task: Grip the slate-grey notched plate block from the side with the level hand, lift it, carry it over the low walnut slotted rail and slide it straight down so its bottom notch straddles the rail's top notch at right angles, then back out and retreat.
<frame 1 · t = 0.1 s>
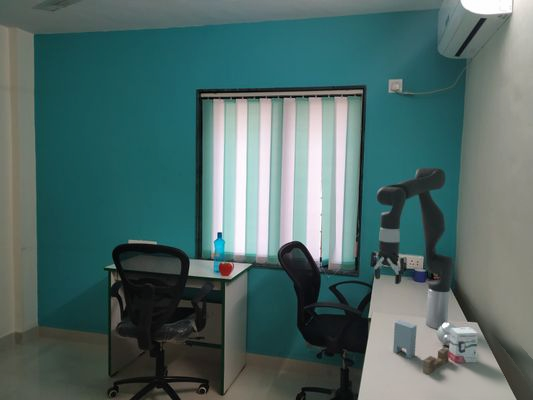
hand: (387, 281, 158), 29 cm above the table, tool pointing down, fingers open, 8 cm apart
notched rail: (436, 366, 152), on the table
ink box: (461, 360, 158), on the table
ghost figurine: (447, 346, 170), on the table
notched block: (403, 353, 162), on the table
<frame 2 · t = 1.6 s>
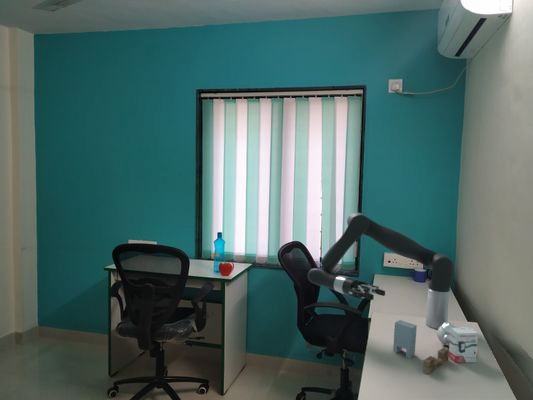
hand: (379, 295, 169), 20 cm above the table, tool horizontal, fingers open, 8 cm apart
nothing on the table moved.
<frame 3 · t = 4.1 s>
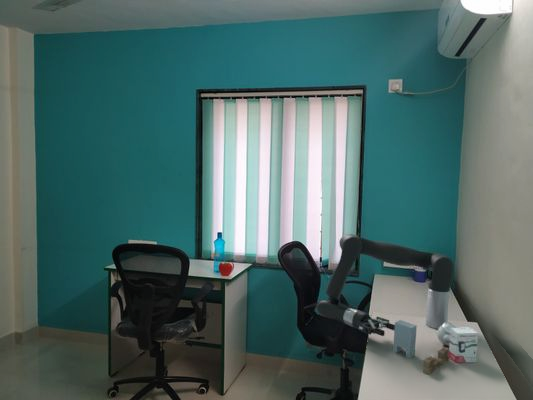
hand: (389, 330, 166), 7 cm above the table, tool horizontal, fingers open, 8 cm apart
nothing on the table moved.
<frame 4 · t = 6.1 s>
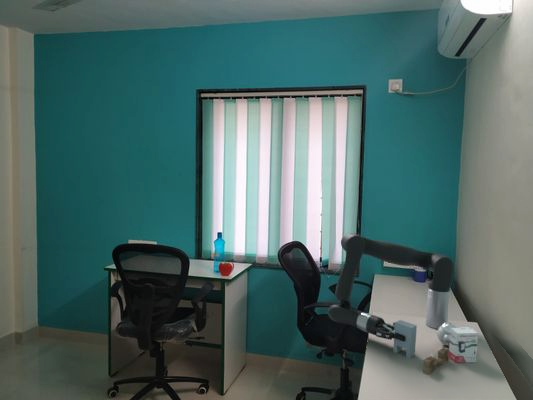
hand: (407, 337, 160), 7 cm above the table, tool horizontal, fingers closed on notched block, 4 cm apart
notched block: (404, 353, 162), on the table, touching gripper
everything else where it was.
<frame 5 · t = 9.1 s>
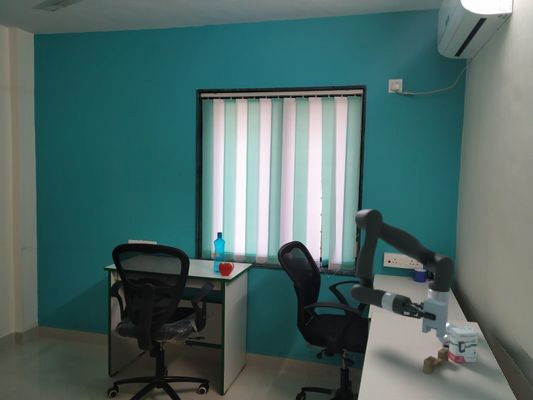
hand: (438, 316, 150), 19 cm above the table, tool horizontal, fingers closed on notched block, 4 cm apart
notched block: (433, 333, 152), point 12 cm above the table, touching gripper
everything else where it was.
when the fingers open (8 cm above the table, at t = 12.2 s): notched block drops 1 cm, resting in notched rail.
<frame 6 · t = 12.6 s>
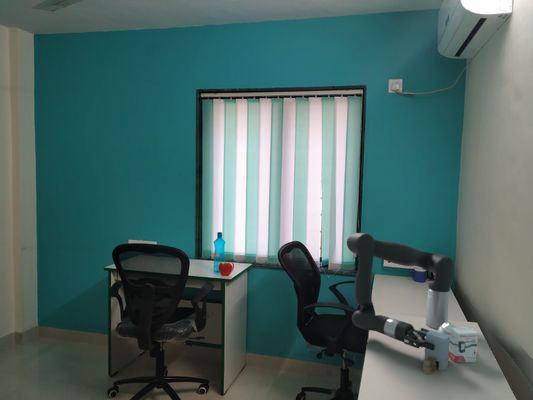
hand: (439, 344, 151), 9 cm above the table, tool horizontal, fingers open, 7 cm apart
notched block: (435, 366, 152), resting in notched rail
everything else where it was.
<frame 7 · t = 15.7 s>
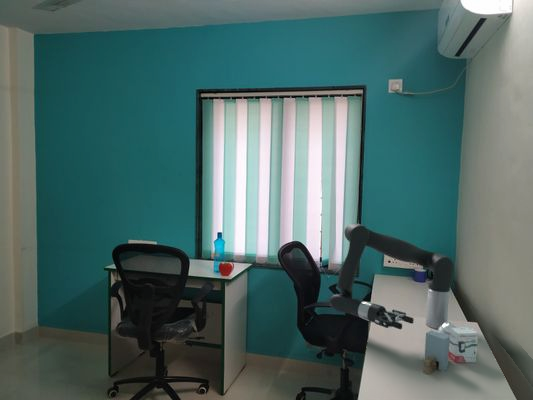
hand: (407, 323, 160), 12 cm above the table, tool horizontal, fingers open, 8 cm apart
nothing on the table moved.
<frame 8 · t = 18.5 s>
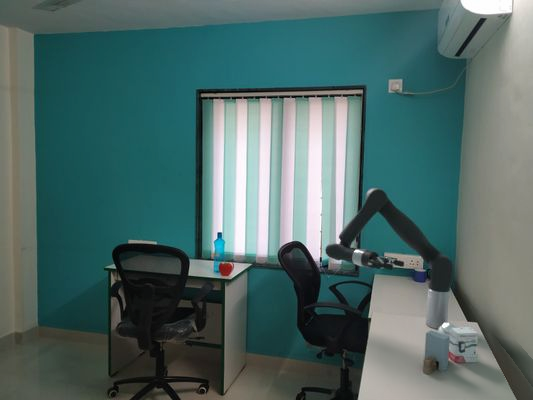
hand: (398, 265, 171), 32 cm above the table, tool horizontal, fingers open, 8 cm apart
nothing on the table moved.
at the end: notched block 0.2 cm off-centre on the notched rail, point 0.0 cm above the notched rail's base; notched block tilted 0°; the gripper is holding nothing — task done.
